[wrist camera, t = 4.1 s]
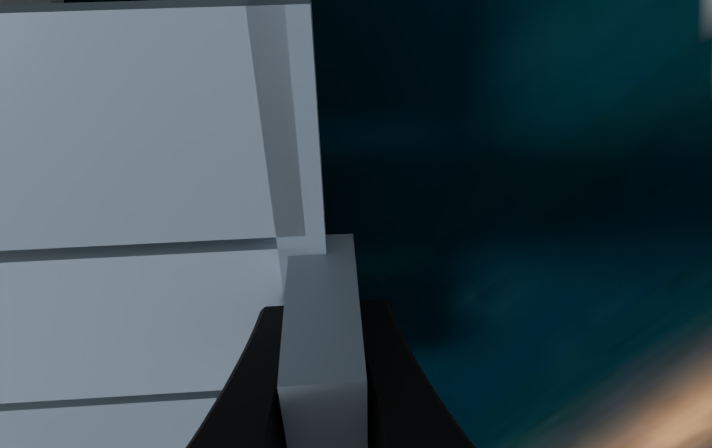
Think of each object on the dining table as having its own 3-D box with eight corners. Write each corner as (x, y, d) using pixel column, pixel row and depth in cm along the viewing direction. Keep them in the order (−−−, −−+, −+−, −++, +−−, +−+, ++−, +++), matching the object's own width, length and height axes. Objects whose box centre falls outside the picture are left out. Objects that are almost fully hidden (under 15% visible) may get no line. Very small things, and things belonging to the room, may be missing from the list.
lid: (358, 458, 16) (368, 605, 13) (28, 480, 16) (-50, 639, 12) (347, -6, 8) (364, 66, 5) (-309, 14, 8) (-757, 105, 5)
